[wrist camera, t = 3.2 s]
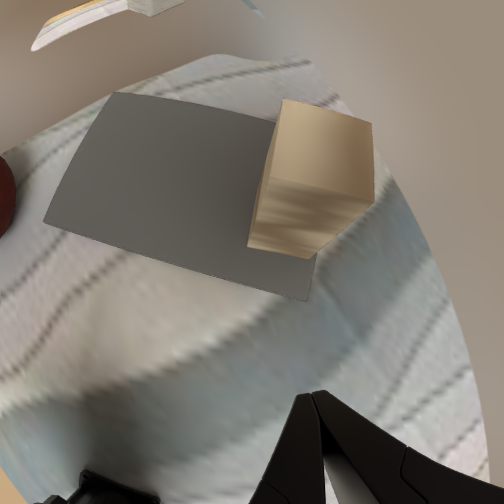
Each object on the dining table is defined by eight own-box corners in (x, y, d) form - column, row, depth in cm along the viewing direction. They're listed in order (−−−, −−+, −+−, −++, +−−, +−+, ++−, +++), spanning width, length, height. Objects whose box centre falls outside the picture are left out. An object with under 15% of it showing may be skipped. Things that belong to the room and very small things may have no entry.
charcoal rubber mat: (45, 223, 20) (42, 221, 20) (114, 94, 24) (113, 91, 24) (305, 301, 21) (306, 300, 21) (334, 144, 25) (336, 142, 25)
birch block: (246, 246, 21) (270, 176, 12) (257, 190, 22) (283, 98, 13) (308, 259, 21) (374, 202, 12) (314, 202, 23) (371, 123, 13)
